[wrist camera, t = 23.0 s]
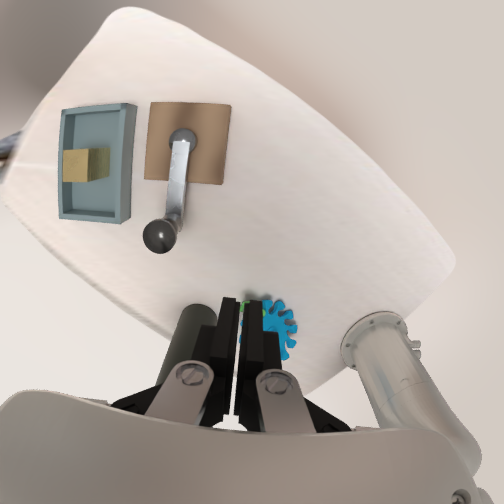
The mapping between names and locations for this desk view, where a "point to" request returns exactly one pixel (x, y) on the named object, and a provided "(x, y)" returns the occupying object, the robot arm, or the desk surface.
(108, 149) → the block
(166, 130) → the crank base
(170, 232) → the crank
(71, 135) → the tray
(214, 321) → the wine bottle
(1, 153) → the desk surface
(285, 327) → the blue lobed piece
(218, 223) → the desk surface
